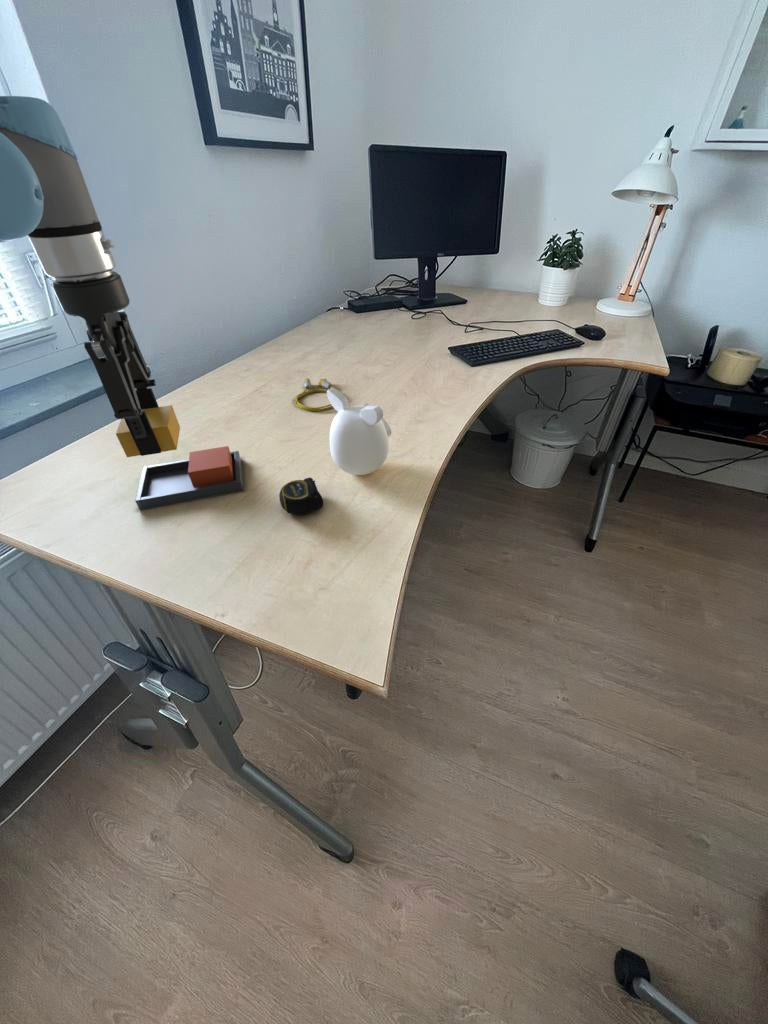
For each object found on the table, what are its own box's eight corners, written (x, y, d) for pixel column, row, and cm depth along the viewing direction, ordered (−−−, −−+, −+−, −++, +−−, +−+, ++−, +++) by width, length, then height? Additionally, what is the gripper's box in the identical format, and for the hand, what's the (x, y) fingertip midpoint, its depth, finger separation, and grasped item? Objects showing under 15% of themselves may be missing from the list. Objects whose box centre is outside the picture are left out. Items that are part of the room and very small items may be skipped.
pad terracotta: (194, 490, 78) (187, 472, 76) (196, 469, 83) (189, 452, 81) (234, 483, 80) (229, 465, 77) (233, 463, 85) (228, 445, 82)
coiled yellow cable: (351, 385, 113) (351, 378, 111) (334, 414, 101) (334, 406, 99) (306, 383, 114) (305, 375, 113) (285, 410, 103) (284, 402, 101)
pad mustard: (127, 457, 64) (115, 433, 61) (134, 434, 69) (123, 411, 66) (176, 449, 65) (167, 426, 63) (180, 427, 70) (171, 404, 68)
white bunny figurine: (402, 459, 86) (403, 387, 76) (375, 492, 78) (372, 416, 68) (348, 445, 90) (342, 376, 80) (317, 475, 82) (306, 402, 72)
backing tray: (139, 509, 75) (135, 501, 74) (146, 475, 83) (143, 466, 82) (243, 490, 79) (240, 481, 77) (240, 459, 87) (238, 450, 86)
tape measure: (326, 513, 73) (323, 496, 71) (285, 523, 72) (282, 506, 69) (316, 490, 78) (314, 473, 76) (278, 499, 77) (274, 482, 74)
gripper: (100, 291, 45) (174, 471, 60) (131, 256, 60) (184, 408, 75) (20, 298, 44) (116, 481, 59) (71, 261, 59) (137, 414, 74)
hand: (154, 440), depth 67 cm, fingers closed on pad mustard, 7 cm apart
